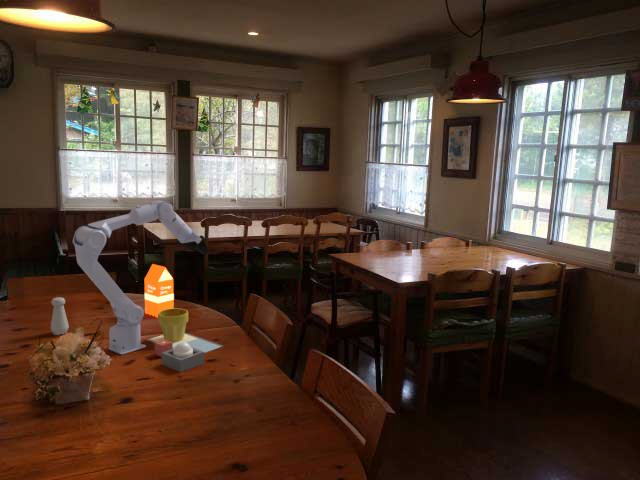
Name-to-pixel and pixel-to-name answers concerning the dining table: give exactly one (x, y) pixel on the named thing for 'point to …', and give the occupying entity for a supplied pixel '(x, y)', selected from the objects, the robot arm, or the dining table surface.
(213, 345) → the game board
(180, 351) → the dome button
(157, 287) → the orange juice
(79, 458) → the dining table surface
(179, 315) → the plant pot
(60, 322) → the salt shaker
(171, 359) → the dome base
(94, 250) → the robot arm
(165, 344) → the red die
